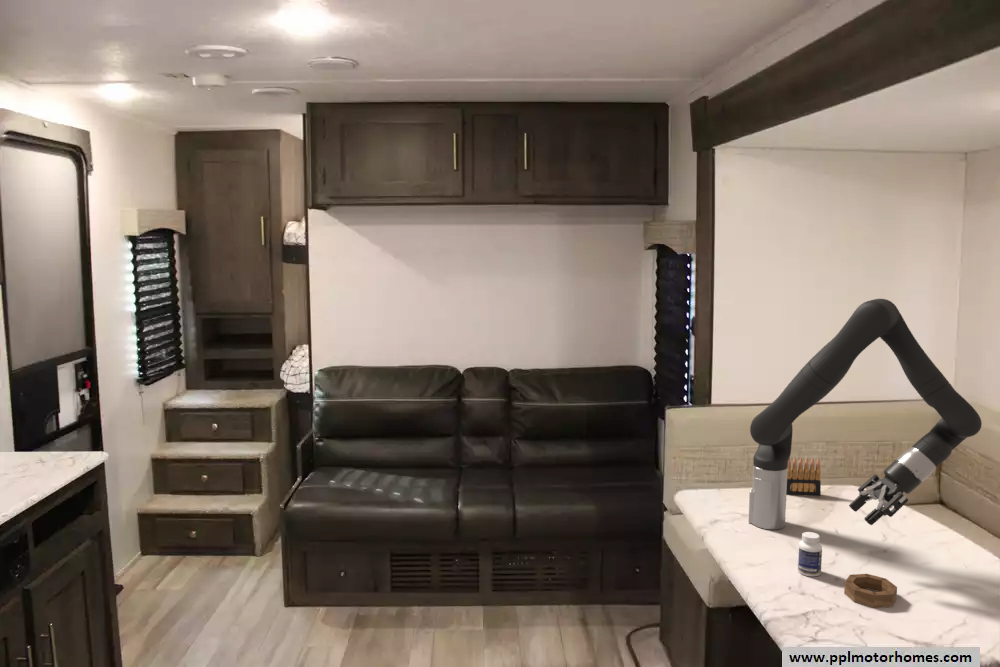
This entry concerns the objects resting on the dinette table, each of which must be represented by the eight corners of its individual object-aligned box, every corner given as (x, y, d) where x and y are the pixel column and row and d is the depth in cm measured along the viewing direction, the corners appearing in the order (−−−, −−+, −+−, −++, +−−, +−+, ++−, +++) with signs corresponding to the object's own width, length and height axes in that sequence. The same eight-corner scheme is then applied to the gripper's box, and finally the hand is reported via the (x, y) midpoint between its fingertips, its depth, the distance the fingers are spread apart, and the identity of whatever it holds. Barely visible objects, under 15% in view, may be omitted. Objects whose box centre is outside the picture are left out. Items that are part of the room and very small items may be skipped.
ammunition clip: (819, 494, 244) (821, 457, 242) (820, 496, 242) (822, 459, 240) (783, 492, 246) (785, 456, 244) (785, 494, 244) (786, 458, 242)
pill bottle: (822, 578, 188) (824, 540, 186) (799, 576, 189) (801, 538, 187) (818, 568, 193) (820, 531, 191) (795, 566, 194) (797, 529, 192)
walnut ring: (840, 598, 178) (841, 586, 177) (852, 581, 185) (853, 570, 185) (888, 611, 171) (889, 599, 171) (899, 594, 179) (900, 582, 179)
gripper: (885, 450, 193) (836, 494, 195) (914, 469, 179) (862, 516, 181) (905, 471, 194) (856, 514, 196) (936, 490, 180) (883, 537, 182)
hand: (859, 515), depth 188 cm, fingers open, 8 cm apart
